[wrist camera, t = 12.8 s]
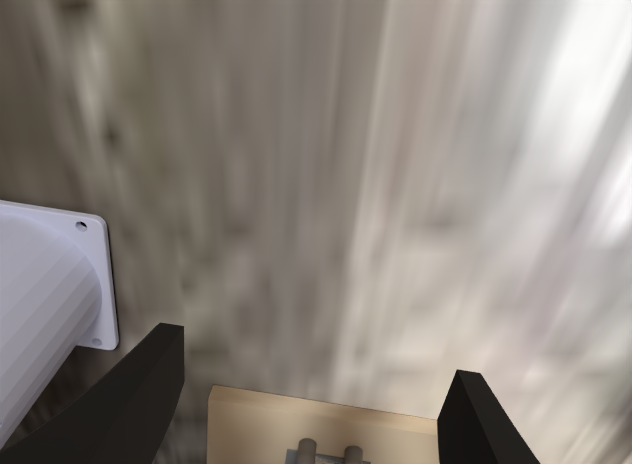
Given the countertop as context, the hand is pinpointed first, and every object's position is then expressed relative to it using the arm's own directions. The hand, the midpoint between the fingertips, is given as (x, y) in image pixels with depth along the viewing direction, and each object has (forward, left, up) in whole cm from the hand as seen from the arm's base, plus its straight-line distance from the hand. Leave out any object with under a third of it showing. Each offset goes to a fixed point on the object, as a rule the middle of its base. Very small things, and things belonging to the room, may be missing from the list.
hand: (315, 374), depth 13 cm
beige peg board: (+2, -20, -9) cm, 22 cm away
